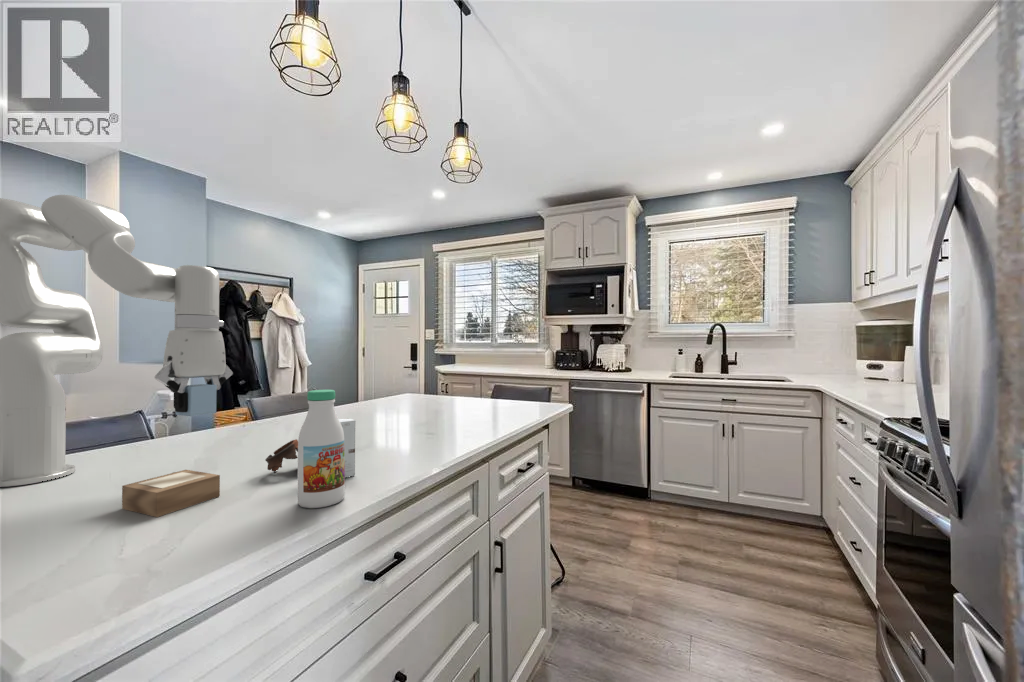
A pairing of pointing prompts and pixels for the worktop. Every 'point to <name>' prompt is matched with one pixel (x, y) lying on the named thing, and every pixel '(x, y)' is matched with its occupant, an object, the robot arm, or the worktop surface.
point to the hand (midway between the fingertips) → (196, 408)
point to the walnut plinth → (170, 492)
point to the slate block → (200, 400)
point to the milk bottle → (321, 453)
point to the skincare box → (349, 445)
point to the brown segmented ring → (282, 455)
